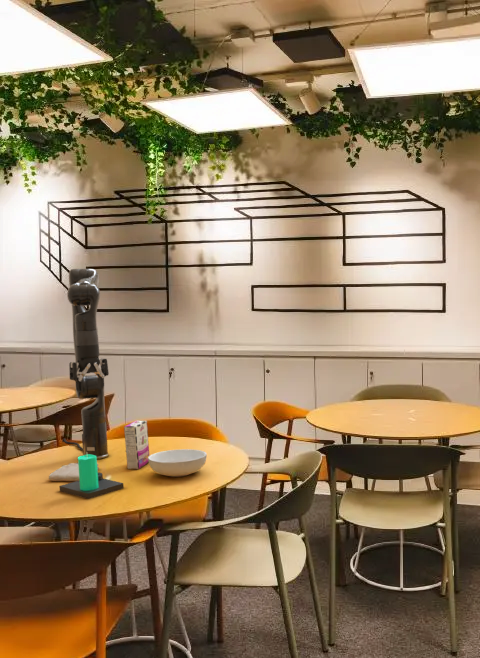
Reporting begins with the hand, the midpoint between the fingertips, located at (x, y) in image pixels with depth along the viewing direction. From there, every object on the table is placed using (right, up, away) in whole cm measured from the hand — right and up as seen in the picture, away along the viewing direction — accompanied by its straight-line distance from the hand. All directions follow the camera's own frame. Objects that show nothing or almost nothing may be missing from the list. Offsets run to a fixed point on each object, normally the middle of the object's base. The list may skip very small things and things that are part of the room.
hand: (90, 390), depth 233 cm
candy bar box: (+12, -29, +24) cm, 39 cm away
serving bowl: (+29, -30, +10) cm, 43 cm away
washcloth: (-9, -31, +12) cm, 35 cm away
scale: (+2, -33, -7) cm, 34 cm away
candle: (+3, -32, -11) cm, 34 cm away
